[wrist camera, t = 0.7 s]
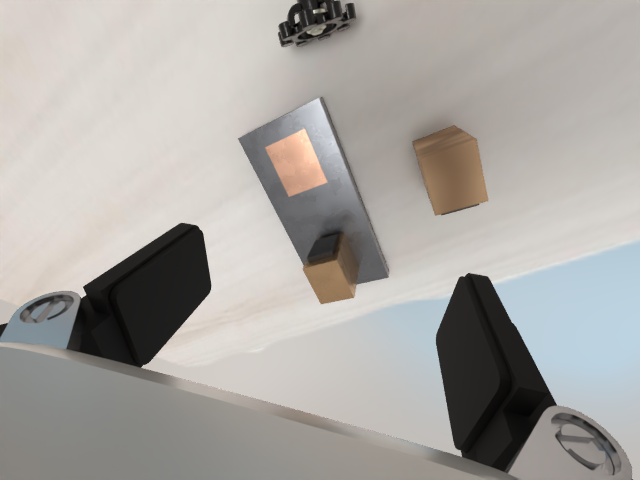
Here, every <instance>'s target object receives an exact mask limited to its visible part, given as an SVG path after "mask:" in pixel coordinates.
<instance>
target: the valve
mask: <svg viewBox="0 0 640 480" xmlns="http://www.w3.org/2000/svg"><path fill="white" fill-rule="evenodd" d="M297 2H298V3H297V4H295V5H293V6H292V7H291V9H290V10H289V12H288V16H287V21H285V22H283V23H281V24H279V30H280V32H279V33H278V36H279V40H280V44H281V46H282V47H287V46H290V45H292V44H293V43H294V42H295V43H296V46H297V47H299V46H303V45H306V44H307V43H308V41H309V40H312V39H316V38H318V40H324V39H327V38H328V37H330V34H329V33H331V32H333V31H335V30H337V31H343V30H345V29H347V28H349V23H350V22H352V21H354V20H355V19H356V13H355V7H354V3H349V4H346V5H345V6H346V11H347V12H345V13H342V8H341V3H340V1H334V0H297ZM324 2H325V3H326V5H327V10H328V12H325V8H324ZM298 13H299V14H298ZM296 14H298V15H299V19H300V22H298V23H295V19H294V16H295V15H296Z"/></svg>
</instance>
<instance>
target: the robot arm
mask: <svg viewBox="0 0 640 480" xmlns="http://www.w3.org/2000/svg"><path fill="white" fill-rule="evenodd" d="M83 288H84V290H85V292H86V296H84V297H83V298H82V299H81V297H80V296H79V295H78V294H77V293H75V292H72V291H59V292H53V293H49V294H46V295H43V296H40V297H38V298H35V299H33V300H31V301H29V302H27V303H26V304H24V305H23V306H21V307H20V308H19V309H18V310H17V311H16V312H15V313H14V314H13V316H12V318H11V319H10V321H9V323H6V324H2V325H0V480H633V479H632V466H631V464H630V462H629V459H628V457H627V455H626V453H625V452H624V450H623V449H622V448H621V446H620V445H619V443H618V442H617V441H616V440H615V439H614V438H613V437H612V436H611V435H610V434H609V433H608V432H607V431H606V430H605V429H604V428H603V427H602V426H600V425H599V424H598V423H596V422H595V421H594V420H593V419H591V418H589V417H588V416H586V415H584V414H582V413H581V412H579V411H576V410H573V409H571V408H568V407H563V406H557V404H556V403H555V401H554V399H553V397H552V395H551V393H550V391H549V389H548V387H547V385H546V383H545V381H544V380H543V378H542V376H541V374H540V372H539V370H538V368H537V366H536V364H535V362H534V360H533V358H532V356H531V355H530V353H529V351H528V349H527V347H526V345H525V343H524V341H523V339H522V337H521V335H520V333H519V332H518V330H517V328H516V326H515V325H514V324H513V323H512V322H511V320H510V318H509V316H508V314H507V312H506V310H505V308H504V306H503V305H502V302H501V301H500V298H499V297H498V295H497V293H496V291H495V289H494V287H493V285H492V283H491V281H490V279H489V278H488V277H487V276H482V275H477V274H471V273H468V274H467V275H466V276H465V277H463V276H461V277H460V278H459V279H458V282H457V284H456V287H455V289H454V292H453V294H452V297H451V299H450V302H449V304H448V307H447V309H446V312H445V314H444V317H443V319H442V322H441V324H440V327H439V329H438V332H437V335H436V346H437V351H438V356H439V362H440V368H441V373H442V379H443V385H444V391H445V396H446V402H447V407H448V413H449V419H450V424H451V429H452V435H453V441H454V445H455V447H456V448H457V449H458V450H461V453H462V457H460V456H456V455H453V454H450V453H447V452H443V451H440V450H436V449H433V448H430V447H426V446H423V445H419V444H416V443H413V442H409V441H406V440H403V439H399V438H395V437H392V436H389V435H385V434H381V433H378V432H375V431H371V430H367V429H363V428H360V427H356V426H352V425H349V424H346V423H342V422H339V421H335V420H331V419H328V418H324V417H320V416H317V415H313V414H310V413H306V412H303V411H299V410H295V409H291V408H288V407H284V406H281V405H277V404H273V403H270V402H266V401H262V400H258V399H255V398H251V397H248V396H244V395H240V394H237V393H233V392H229V391H225V390H222V389H218V388H214V387H210V386H207V385H203V384H200V383H196V382H192V381H189V380H185V379H181V378H177V377H173V376H170V375H166V374H162V373H158V372H154V371H151V370H146V369H143V368H141V367H142V366H143V365H145V364H147V363H149V362H150V361H151V360H152V359H153V357H154V356H155V355H156V354H157V353H158V352H159V351H160V349H161V348H162V347H163V346H164V345H165V344H166V343H167V341H168V340H169V339H170V338H171V337H172V336H173V335H174V333H175V332H176V331H177V330H178V329H179V328H180V327H181V325H182V324H183V323H184V322H185V321H186V320H187V318H188V317H189V316H190V315H191V314H192V313H193V312H194V310H195V309H196V308H197V307H198V306H199V305H200V304H201V302H202V301H203V300H204V299H205V298H206V297H207V296H208V294H209V293H210V290H211V280H210V274H209V267H208V261H207V255H206V249H205V242H204V236H203V232H202V231H201V230H200V229H199V227H198V226H196V225H192V224H186V223H180V224H178V225H177V226H175V227H174V228H172V229H171V230H169V231H168V232H166V233H165V234H163V235H161V236H160V237H158V238H157V239H155V240H154V241H152V242H151V243H149V244H148V245H146V246H145V247H143V248H142V249H140V250H139V251H137V252H135V253H134V254H132V255H131V256H129V257H128V258H126V259H125V260H123V261H122V262H120V263H119V264H117V265H116V266H114V267H113V268H111V269H110V270H108V271H106V272H105V273H103V274H102V275H100V276H99V277H97V278H96V279H94V280H93V281H91V282H90V283H88V284H87V285H85V286H84V287H83Z"/></svg>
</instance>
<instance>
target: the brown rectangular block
mask: <svg viewBox="0 0 640 480" xmlns="http://www.w3.org/2000/svg"><path fill="white" fill-rule="evenodd" d="M413 146H414V149H415V153H416V156H417V160H418V163H419V167H420V170H421V174H422V177H423V181H424V184H425V187H426V190H427V193H428V196H429V199H430V202H431V204H432V207H433V210H434V213H435V216H436V215H440V214H441V215H445V214H449V213H452V212H456V211H459V210H463V209H466V208H470V207H474V206H477V205H479V203H482V202H486V201H488V196H487V191H486V186H485V181H484V176H483V171H482V165H481V160H480V155H479V150H478V145H477V140H476V139H475V138H474V137H472V136H470V135H469V134H467V133H466V132H464V131H462V130H461V129H459V128H457V127H456V126H452V127H449V128H447V129H444V130H442V131H439V132H436V133H434V134H431V135H429V136H426V137H423V138H421V139H418V140H416V141H413Z"/></svg>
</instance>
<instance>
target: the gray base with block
mask: <svg viewBox="0 0 640 480" xmlns="http://www.w3.org/2000/svg"><path fill="white" fill-rule="evenodd" d="M238 139H239V141H240V143H241V145H242V147H243V149H244V151H245V153H246V155H247V157H248V159H249V161H250V163H251V164H252V166H253V168H254V170H255V172H256V174H257V176H258V178H259V180H260V182H261V184H262V186H263V188H264V190H265V191H266V193H267V195H268V197H269V199H270V201H271V203H272V205H273V207H274V209H275V211H276V213H277V215H278V216H279V218H280V220H281V222H282V224H283V226H284V228H285V230H286V232H287V234H288V236H289V238H290V240H291V241H292V243H293V245H294V247H295V249H296V251H297V253H298V255H299V257H300V259H301V261H302V263H303V265H304V267H303V271H304V273H305V275H306V276H307V278H308V280H309V282H310V284H311V286H312V288H313V290H314V292H315V294H316V295H317V297H318V299H319V301H320V303H321V304H325V303H330V302H335V301H340V300H345V299H350V298H354V295H355V289H356V284H360V283H365V282H370V281H374V280H379V279H384V278H388V277H389V270H388V267H387V265H386V262H385V260H384V257H383V254H382V252H381V249H380V247H379V244H378V241H377V239H376V236H375V234H374V231H373V228H372V226H371V223H370V221H369V218H368V215H367V213H366V210H365V208H364V205H363V202H362V200H361V197H360V195H359V192H358V189H357V187H356V184H355V182H354V179H353V176H352V174H351V171H350V169H349V166H348V163H347V161H346V158H345V156H344V153H343V150H342V148H341V145H340V143H339V140H338V137H337V135H336V132H335V130H334V127H333V124H332V122H331V119H330V117H329V114H328V111H327V109H326V106H325V104H324V101H323V98H322V97H320V98H317V99H315V100H313V101H311V102H309V103H307V104H305V105H303V106H301V107H299V108H298V109H296V110H294V111H292V112H290V113H288V114H286V115H284V116H282V117H280V118H278V119H276V120H274V121H272V122H270V123H268V124H266V125H264V126H262V127H260V128H258V129H256V130H254V131H252V132H250V133H248V134H246V135H244V136H242V137H240V138H238Z"/></svg>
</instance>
